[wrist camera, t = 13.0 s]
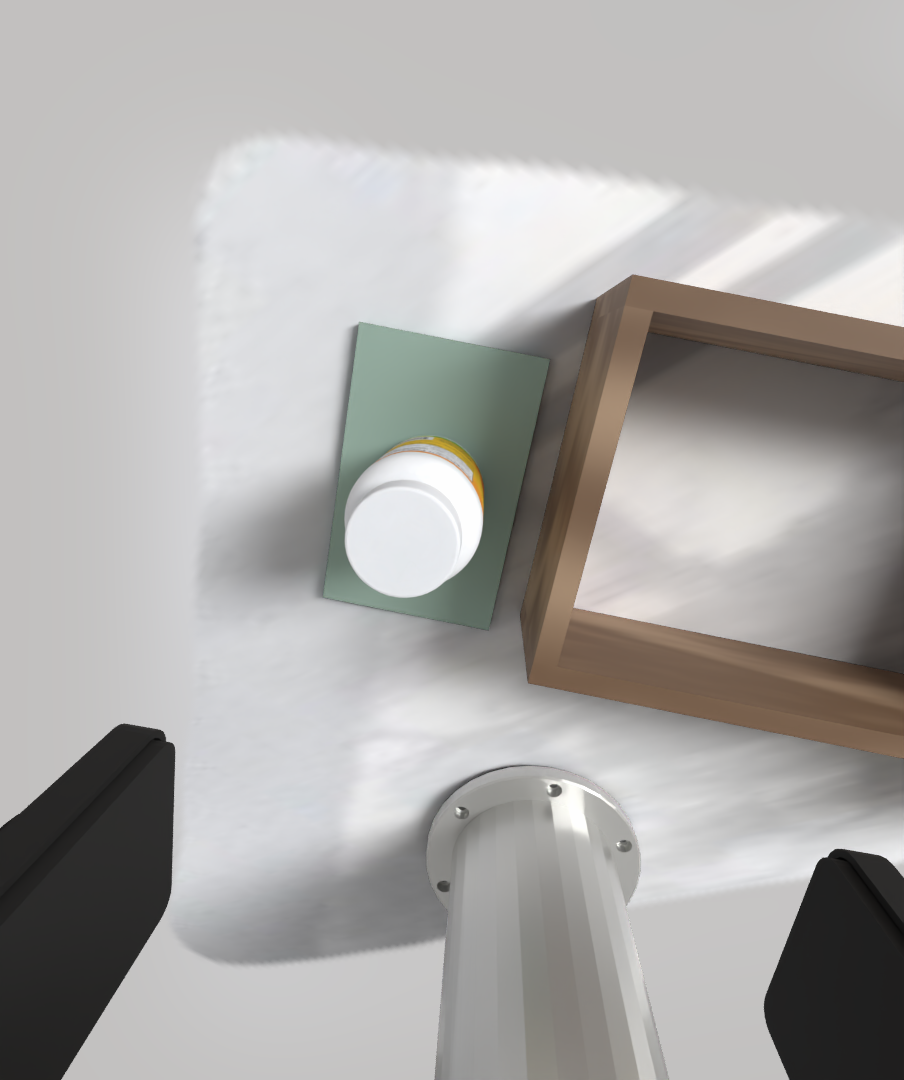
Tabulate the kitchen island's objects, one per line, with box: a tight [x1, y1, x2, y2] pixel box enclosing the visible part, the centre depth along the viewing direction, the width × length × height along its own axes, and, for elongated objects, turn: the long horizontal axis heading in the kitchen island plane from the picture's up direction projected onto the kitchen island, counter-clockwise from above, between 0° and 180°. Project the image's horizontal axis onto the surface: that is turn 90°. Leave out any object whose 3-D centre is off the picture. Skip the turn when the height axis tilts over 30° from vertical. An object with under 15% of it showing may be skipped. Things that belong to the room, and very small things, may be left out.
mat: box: [323, 322, 550, 630], centre depth 29 cm, size 14×9×1 cm, turn 169°
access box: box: [520, 275, 904, 759], centre depth 25 cm, size 16×22×7 cm
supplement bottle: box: [344, 435, 484, 598], centre depth 24 cm, size 5×5×10 cm
